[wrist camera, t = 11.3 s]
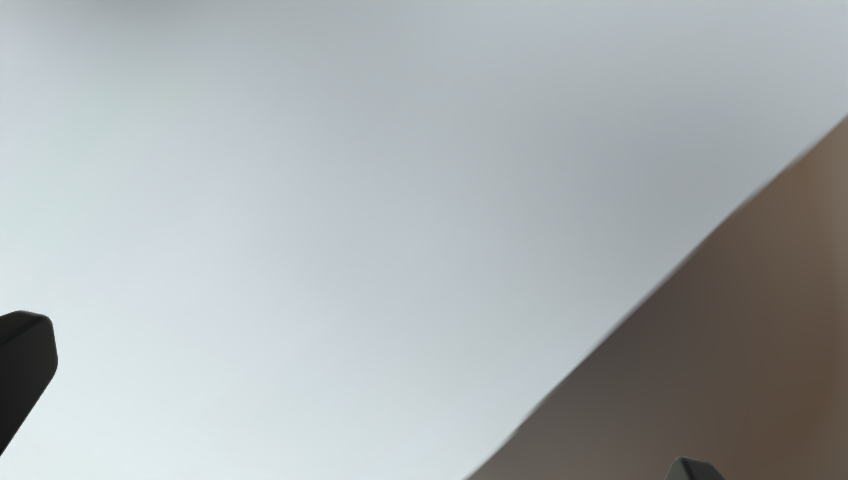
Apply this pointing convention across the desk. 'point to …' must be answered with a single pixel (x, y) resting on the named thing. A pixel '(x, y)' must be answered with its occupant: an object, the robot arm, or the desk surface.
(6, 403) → the robot arm
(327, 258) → the desk surface
